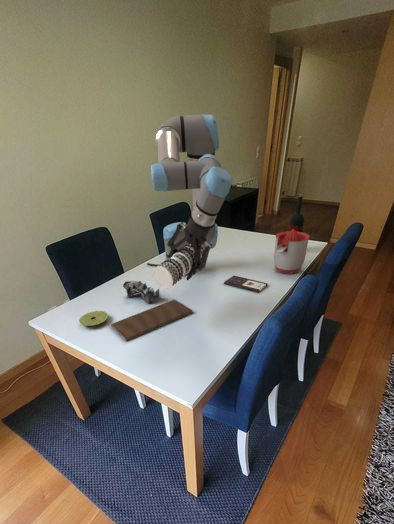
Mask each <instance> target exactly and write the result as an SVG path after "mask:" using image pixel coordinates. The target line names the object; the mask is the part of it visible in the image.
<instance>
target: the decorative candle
mask: <svg viewBox="0 0 394 524" xmlns="http://www.w3.org/2000/svg"><path fill="white" fill-rule="evenodd" d="M181 250H182V251H181ZM203 251H204V247H203V245H201V259H202V255H203ZM158 264H159V263H158ZM160 264H161V265H160ZM160 264H159V265H158V266H154V268H153V270H152V272H151V273H152V278H153V281H154V283H155V284H156V286H158V287H159V288H161V289H163V290H169V289H171V288H172V287H173V286H175V285H176V284H177V283H178V282H180V280H182V278H184V276H186V275H188V273H189V272H190V270H191V268H192V266H194V247H193V246H192V245H191V244H188V245H185V247H182V248H180V250H178V251H177V252H176V253H175V254H174V255H173V256H172V257H171V258H169V259H166V258H165V260H164V261H162V262H160Z"/></svg>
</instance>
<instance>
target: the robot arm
mask: <svg viewBox="0 0 394 524" xmlns="http://www.w3.org/2000/svg"><path fill="white" fill-rule="evenodd" d="M218 129H219V128H218V123H217V119H216V116H215V115H213V114H206V113H205V114H204V113H203V114H201V113H200V114H191V115H190V114H189V115H175V116H173V117H170V118H168V119H167V120H164V122H163V123H161V125H159V127H158V129H157V130H156V133H155V137H154V138H155V139H154V143H155V147H156V151H157V163H153V164H151V166H150V174H151V175H150V176H151V183H152V189H153V191H156V192H172V191H184V190H191V191H192V193H191V194H192V212H191V215H190V216H189V219H188V221H187V223H186V222H184V221H177V222H173V223H170V224H168V225H166V226H165V227H164V228H163V236H162V239H163V241H164V252H165V260H166V259H169V258H171V257H172V256H173V255H174V254H175V253H176V252H177V251H178V250H180V248H182V247H185V245H188V244H191V245H192V246H193V247H194V266H192V268H191V270H190V272H189V273H188V274H187V277H186V279H185V280H186V281H189V280H190V279H192V277H193V276H194V275H196V274H197V273H198V271H203V270H204V269H205V268H206V265H207V261H208V259H209V254H210V251H211V250H212V249H215V247H216V246H217V243H218V237H219V236H218V235H219V233H218V231H219V230H218V229H219V228H218V224H217V223H215V220H216V219H217V217H218V214H219V212H220V211H221V208H222V206H223V204H224V202H225V200H226V198H227V196H228V194H229V193H230V190H231V187H232V184H233V177H232V175H231V174H230V173H229V172H228V171H227V170H226V169H225V168H222V165H221V163H220V160H219V159H218V157H217V156H216V151H218V150H219V148H220V139H219V131H218ZM180 153H186V157H187V159H188V160H189V161H181V157H180ZM201 245H203V247H204V251H203V255H202V259H201ZM181 251H182V250H181ZM146 265H148V266H152V267H156V266H158V265H159V263H158V264H155V263H151V262H150V263H149V262H147V263H146ZM160 265H161V263H160Z"/></svg>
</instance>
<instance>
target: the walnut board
mask: <svg viewBox="0 0 394 524" xmlns="http://www.w3.org/2000/svg"><path fill="white" fill-rule="evenodd" d="M191 314H193V310H192V308H191V309H190V308H189V307H187V306H185V304H183V303H181V302H179V301H178V300H176V299H172V300H169V301H166V302H164V303H162V304H159V305H156V306H153V307H151V308H148V309H146V310H144V311H141V312H139V313H136V314H134V315H130V316H128V317H126V318H123V319H120V320H117V321H115V322H112V323H110V327H111V328H112V329H113V330H114V331H115V332H116V333H117V334H118V335H119V336H120V337H121V338H122V339H123V340H124V341H125V342H128V341H130V340H133V339H135V338H138V337H140V336H142V335H144V334H146V333H149V332H152V331H153V330H156V329H158V328H161V327H163V326H165V325H168V324H170V323H172V322H174V321H177V320H179V319H182V318H184V317H186V316H188V315H191Z"/></svg>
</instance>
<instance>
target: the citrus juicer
mask: <svg viewBox="0 0 394 524" xmlns="http://www.w3.org/2000/svg"><path fill="white" fill-rule="evenodd" d="M310 238H311V237H310V234H309V233H307V232H303V231H302V232H296V231H295V230H294V229H292V230H291V231H288V230H287V231H281V232H278V233H276V234H275V243H274V250H273V251H274V253H273V259H274V267H275V270H276V271H277V272H278V273H281V274H287V275H292V274H296V273H298V272H300V270H301V269H302V267H303V265H304V262H305V260H306V255H307V250H308V244H309V239H310Z"/></svg>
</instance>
